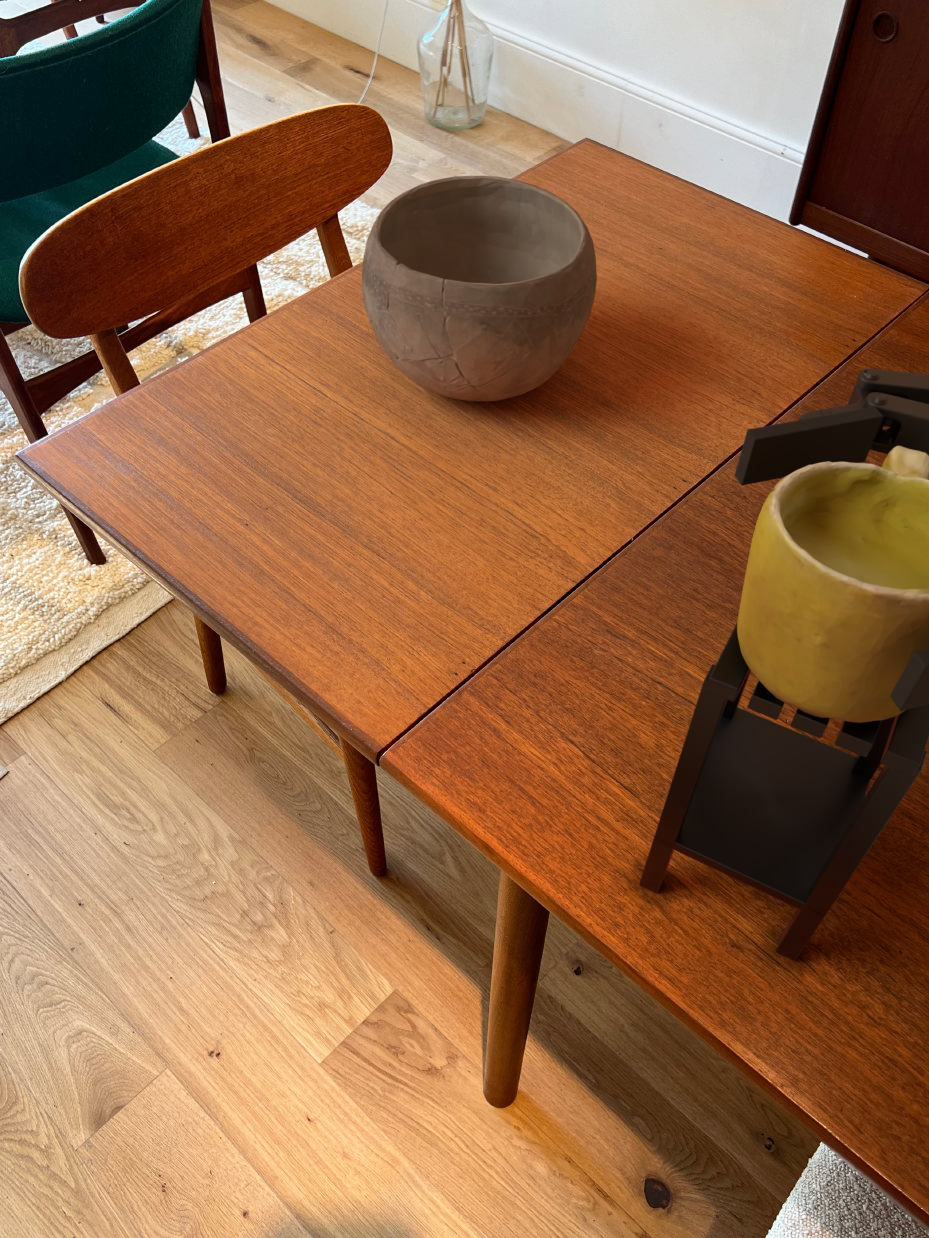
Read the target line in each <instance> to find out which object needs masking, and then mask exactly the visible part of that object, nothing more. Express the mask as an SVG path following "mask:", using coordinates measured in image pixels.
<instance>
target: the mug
mask: <svg viewBox="0 0 929 1238" xmlns="http://www.w3.org/2000/svg"><path fill="white" fill-rule="evenodd" d="M746 564H747V565H746V569H745V573H744V574H745V575H744V580H743V587H742V591H741V597H740V604H739V610H738V615H737V621H736V623H737V634H738V640H739V645H740V649H741V653H742V656H743V658H744V660H745V661H746V663H747V665H748V667H749V668H750V670H751V673H752V674H753V675H754V676H755V678H756V679H757V681H760V682H761V683H762V684H763V685H764V686H765V687H766V688H767V689H768V690H769V691H770V692H771V693H772V694H773V695H774V696H775V697H776V698H778V699H779V700H781V701H783V702H784V704H786V705H788V706H791V707H794V708H796V709H797V708H798V709H800V710H802V711H804V712H805V713H808V714H811V715H814V716H817V717H821V718H830V719H837V720H841V721H843V720H844V721H848V722H858V723H862V722H870V721H877V720H884V719H888V718H892V717H895V716H897V715H899V714H901V713H902V712H904V711H905V710H903V711H900V710H899V709H898V707H897V706H896V704H895V703H894V702H893V700H892V699H891V697H890V694H891V693H892V691H893V689H894V687H895V685H896V684H897V682H898V680H899V678H900V677H901V675H902V673H903V671H904V669H905V668H906V666H907V664H908V662H909V660H910V659H911V657H912V655H913V653H914V652H916V651H920V650H925V649H929V455H927V454H926V453H924V452H920V451H916V450H911V449H908V448H905V447H902V446H896V447H894V448H893V449H892V450H891V451H890V452H889V454H886V457H885V459H884V461H883V462H882V465H881V466H879V465H876V464H874V463H865V462H862V463H850V462H833V463H832V462H829V461H828V462H821V463H816V464H813V465H808V466H805V467H803V468H801V469H798V470H796V471H794V472H793V473H791V474H789V475H788V476H786V477H784V478H780V480H778V482H777V483H776V484H775V485H774V487H773V488H772V489H771V491H770V492H769V493H768V495H767V497H766V498H765V501H764V502H763V504H762V507H761V510H760V512H759V515H758V517H757V519H756V523H755V527H754V532H753V535H752V538H751V542H750V549H749V553H748V559H747V563H746Z"/></svg>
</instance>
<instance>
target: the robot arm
mask: <svg viewBox="0 0 929 1238" xmlns="http://www.w3.org/2000/svg"><path fill="white" fill-rule="evenodd" d="M884 427H885V428H886V429H883V428H884ZM896 446H902V447H905V448H908V449H911V450H916V451H920V452H924V453H926V454H927V455H929V374H925V373H924V374H923V373H914V372H907V371H896V370H888V369H880V368H879V369H878V368H863V369H860V371H859V372H858V375H857V378H856V381H855V384H854V385H853V389H852V391H851V394H850V397H849V400H848V402H847V404H845V405H839V406H833V407H828V408H823V409H819V410H818V409H816V410H811V411H807V412H805V413H804V414H802V415H800V417H799V420H793V421H788V422H782V423H775V424H770V425H765V426H761V427H755V428H754V427H753V428H748V429H747V431H746V434H745V437H744V442H743V445H742V448H741V450H740V451H741V452H740V455H739V459H738V462H737V465H736V469H735V473H734V477H735V478H736V480H737V481H738V482H739V484H740V485H741V486H746V485H752V484H757V483H764V482H767V481H768V482H769V481H773V480H778V479H782V478H784V477H786V476H788V475H789V474H791V473H793V472H794V471H796V470H798V469H801V468H803V467H805V466H808V465H813V464H816V463H821V462H828V461H829V462H832V463H833V462H850V463H865V462H866V460H867V459H868V455H869V453H870V451H874V452H878V453H881V454H885V455H888V454H889V452H890V451H891V450H892V449H893V448H894V447H896ZM890 697H891V699H892V700H893V702H894V703H895V704H896V706H897V707H898V709H899V710H900V711H903V710H908V709H912V708H916V707H920V706H924V705H928V704H929V649H925V650H920V651H916V652H914V653H913V655H912V657H911V659H910V660H909V662H908V664H907V666H906V668H905V669H904V671H903V673H902V675H901V677H900V678H899V680H898V682H897V684H896V685H895V687H894V689H893V691H892V693H891V694H890Z"/></svg>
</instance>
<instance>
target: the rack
mask: <svg viewBox="0 0 929 1238" xmlns="http://www.w3.org/2000/svg"><path fill="white" fill-rule="evenodd" d="M751 673H752V671H751V670H750V668H749V667H748V665H747V663H746V661H745V660H744V658H743V656H742V653H741V649H740V645H739V640H738V634H737V622H736V623H735V625H734V627H733V629H732V631H731V633H730V636H729V637H728V639H727V641H726V643H725V645H724V648H723V649H722V652H721V653H720V656H719V657H718V660H717V661H716V663H715V664H714V663H713V664H711V665H710V668H709V669H708V672H707V673H706V676H705V677H704V680H703V681H702V685H701V689H700V692H699V695H698V698H697V701H696V703H695V708H694V710H693V714H692V717H691V720H690V723H689V726H688V729H687V732H686V736H685V739H684V742H683V746H682V748H681V751H680V755H679V758H678V760H677V764H676V766H675V770H674V772H673V776H672V780H671V782H670V786H669V789H668V792H667V795H666V798H665V802H664V805H663V808H662V810H661V813H660V817H659V821H658V823H657V825H656V830H655V834H654V836H653V839H652V841H651V845H650V849H649V852H648V855H647V858H646V861H645V864H644V867H643V870H642V873H641V877H640V879H639V883H638V885H639V886H640V887H642V888H645V889H646V890H649V891H650V892H653V893H655V894H658V893H659V891H660V889H661V887H662V886H661V885H662V884H663V882H664V880H665V878H666V874H667V872H668V868H669V866H670V863H671V860H672V858H673V854H674V853H675V852H678V853H680V854H681V855H684V856H686V857H688V858H690V859H692V860H694V861H697V862H699V863H700V864H702V865H705V866H707V867H709V868H710V869H713V870H715V871H718V872H719V873H722V874H724V875H726V876H729V877H730V878H733V879H735V880H737V881H738V882H741V883H743V884H745V885H748V887H749V886H750V887H752V888H754V889H756V890H758V891H759V892H762V893H764V894H766V895H769V896H771V897H773V898H775V899H776V900H779V901H780V902H782V903H786V904H787V905H790V906H792V907H794V908H796V910H795V912H794V913H793V915H792V917H791V918H790V920H789V922H788V923H787V925H786V927H785V928H784V930H783V932H782V933H781V935H780V938H779V941H778V943H777V946H776V948H775V952H776V954H779V955H781V956H783V957H785V958H787V959H789V960H792V961H794V962H795V961H797V959H798V958H799V956H800V955H801V953H802V952H803V950H804V949H805V947H806V946H807V944H808V943H809V941H810V940H811V938H812V937H813V935H814V934H815V932H816V931H817V929H818V928H819V926H820V924H821V923H822V922H823V920H824V919H825V917H826V916H827V914H828V913H829V912H830V910H831V908H832V907H833V905H834V903H835V902H836V900H837V899H838V897H839V896H840V894H841V893H842V891H843V890H844V889H845V887H846V885H847V884H848V882H849V881H850V880H851V878H852V877H853V875H854V874H855V872H856V870H857V869H858V867H859V866H860V864H861V863H862V861H863V860H864V858H865V857H866V856H867V854H868V852H869V851H870V850H871V848H872V846H873V845H874V843H875V842H876V840H877V839H878V837H879V836H880V834H881V833H882V831H883V830H884V828H885V827H886V825H887V824H888V822H889V821H890V819H891V818H892V816H893V815H894V814H895V812H896V811H897V809H898V807H899V805H900V804H901V803H902V801H903V800H904V798H905V797H906V795H907V794H908V793H909V791H910V789H911V787H912V786H913V785H914V783H915V782H916V780H917V779H918V777H919V776H920V774H921V772H922V771H923V767H924V764H925V761H926V757H927V753H928V751H927V750H926V749H927V745H928V741H929V704H928V705H924V706H920V707H916V708H912V709H908V710H905V711H904V712H902V713H901V714H899V715H897V716H895V717H892V718H888V719H884V720H877V721H870V722H862V723H858V722H848V721H844V720H842V723H841V724H840V728H839V731H838V733H837V736H836V739H835V742H834V745H835V746H837V747H839V748H842V749H844V750H846V751H848V752H846V751H844V750H841V749H839V748H837V747H834V746H832V745H829V744H827V743H824V742H822V741H820V740H818V739H822V737H823V736H824V733H825V731H826V729H827V727H828V725H829V722H830V720H831V718H821V717H817V716H814V715H811V714H808V713H805V712H804V711H802V710H800V709H798V708H796V711H795V713H794V715H793V718H792V721H791V723H790V727H791V728H794V729H796V730H798V731H801V732H804V733H806V734H808V735H811V736H813V737H815V738H818V739H815V738H812V737H810V736H808V735H805V734H802V733H801V732H798V731H796V730H793V729H791V728H789V727H786V726H784V725H781V724H780V723H777V722H774V721H771V720H769V719H772V720H775V721H777V720H778V719H779V716H780V714H781V713H782V710H783V708H784V705H785V703H784V702H783V701H781V700H779V699H778V698H776V697H775V696H774V695H773V694H772V693H771V692H770V691H769V690H768V689H767V688H766V687H765V686H764V685H763V684H762V683H761V682H760V681H759V680H757V683H756V685H755V687H754V690H753V692H752V694H751V697H750V699H749V701H748V704H747V709H749V710H751V711H754V712H756V713H758V714H760V715H763V716H764V717H763V716H760V715H758V714H755V713H753V712H750V711H748V710H745V709H743V708H740V707H739V705H740V702H741V700H742V697H743V694H744V691H745V688H746V686H747V683H748V680H749V678H750V675H751ZM765 716H766V717H767V718H769V719H767V718H765ZM849 752H851V753H854V754H855V755H856V756H855V755H853V754H851V753H849ZM881 765H882V766H883V767H882V768H881V771H880V772H879V773H878V774H877V777H876V779H875V780H874V782H873V783H872V785H871V787H870V784H871V782H872V779H873V777H874V776H875V775H876V773H877V771H878V769H879V767H880V766H881Z"/></svg>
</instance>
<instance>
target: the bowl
mask: <svg viewBox="0 0 929 1238" xmlns="http://www.w3.org/2000/svg"><path fill="white" fill-rule="evenodd" d="M595 250H596V249H595V244H594V239H593V237H592V235H591V233H590V230H589V229H588V226H587V225H586V223H585V221H584V220H583V218H582V217H581V215H580V214H579V212H578V211H577V210H576V209H575V208H573V206H571V204H569V203H568V202H567V201H566V200H564V199H563V198H561V197H560V196H558V195H556V194H554V192H551V191H549V190H546V189H544V188H542V187H540V186H537V185H536V184H532V183H529V182H525V181H522V180H518V179H513V178H508V177H503V176H493V175H492V176H491V175H460V176H459V175H457V176H456V175H455V176H449V177H445V178H439V179H434V180H430V181H426V182H424V183H421V184H419V185H417V186H414V187H412V188H410V189H408V190H406V191H404V192H401V194H399V195H398V196H396V197H395V198H393V199H392V200H391V201H389V202H388V203H387V204H386V205H385V207H383V209H382V210H380V212H379V214H378V215H377V217H376V219H375V220H374V222H373V224H372V226H371V229H370V232H369V234H368V236H367V240H366V243H365V248H364V252H363V258H362V265H361V266H362V267H361V291H362V301H363V305H364V309H365V313H366V316H367V318H368V321H369V324H370V326H371V328H372V331H373V333H374V335H375V336H376V339H377V340H378V342H379V343H380V345H381V347H382V349H383V351H384V352H385V353H386V355H387V356H388V357H389V359H390V360H391V361H392V362H393V364H394V366H396V368H397V369H398V370H399V371H400V372H401V373H402V374H403V375H405V377H407V378H408V379H409V380H410V381H412V383H414V384H415V385H416V386H419V387H421V388H422V389H424V390H428V391H429V392H431V393H434V394H436V395H440V396H443V397H446V398H450V399H454V400H461V401H467V402H498V401H503V400H507V399H510V398H515V397H518V396H521V395H524V394H526V393H529V392H530V391H533V390H535V389H536V388H539V387H540V386H541V385H543V384H544V383H546V382H547V381H548V380H549V379H550V378H551V377H553V376H554V375H555V373H557V371H558V370H560V368H561V367H562V366H563V364H564V363H565V362H566V361H567V359H568V358H569V356H570V354H571V353H572V352H573V351H574V349H575V348H576V346H577V345H578V342H579V340H580V339H581V337H582V335H583V333H584V330H585V328H586V326H587V324H588V321H589V319H590V316H591V314H592V310H593V306H594V303H595V298H596V292H597V281H598V280H597V279H598V275H597V272H598V271H597V257H596V251H595Z"/></svg>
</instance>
